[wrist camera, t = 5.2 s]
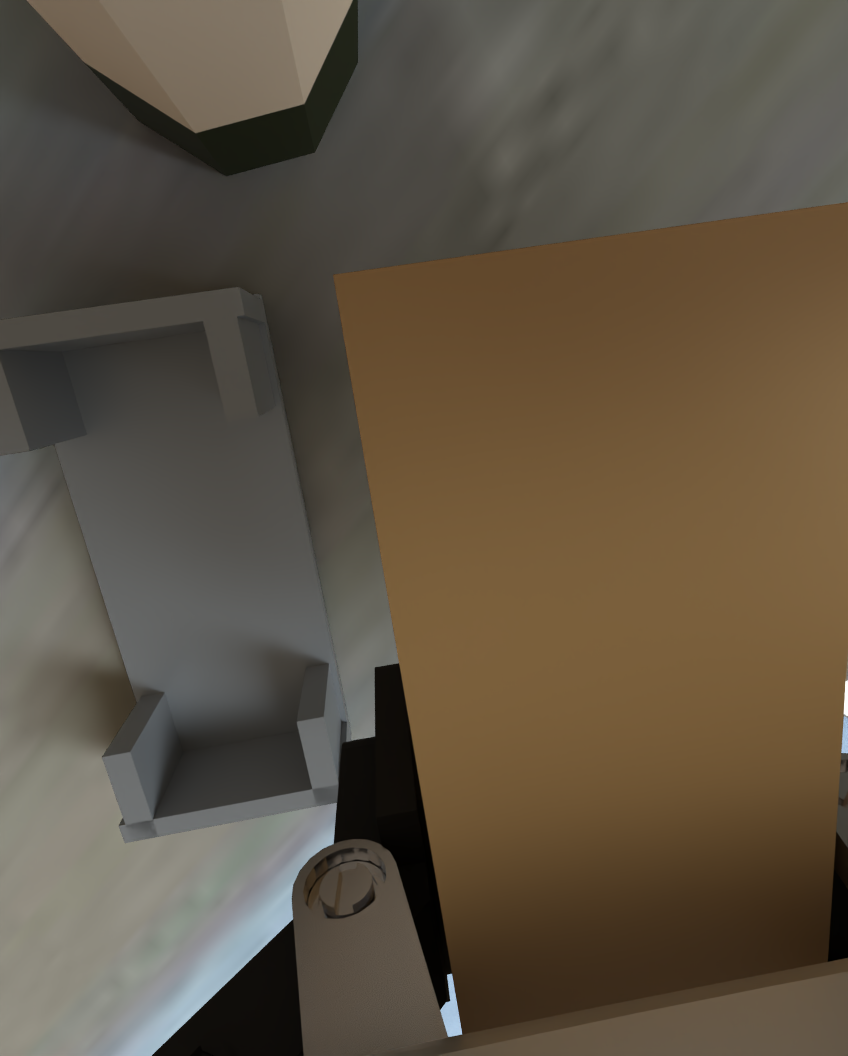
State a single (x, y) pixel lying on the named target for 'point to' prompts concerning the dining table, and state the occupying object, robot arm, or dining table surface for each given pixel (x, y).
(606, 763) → the slat
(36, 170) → the dining table surface
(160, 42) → the wine bottle
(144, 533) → the end-cap rail
